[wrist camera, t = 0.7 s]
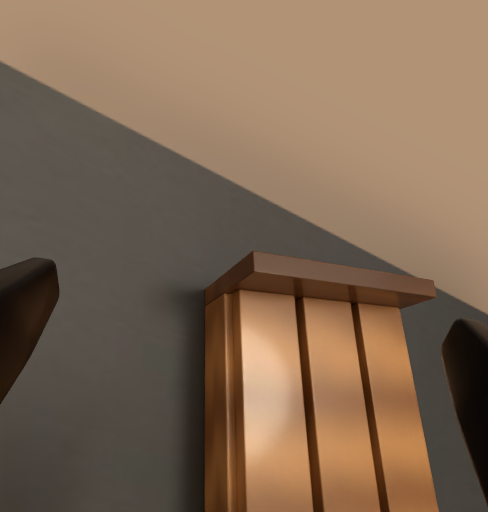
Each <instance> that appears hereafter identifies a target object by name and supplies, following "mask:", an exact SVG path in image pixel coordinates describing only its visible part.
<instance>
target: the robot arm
mask: <svg viewBox="0 0 488 512" xmlns="http://www.w3.org/2000/svg"><path fill="white" fill-rule="evenodd" d="M58 298H59V284H58V276H57V269H56V264H55V262H54V261H52V260H50V259H43V258H31V259H28V260H25V261H23V262H20V263H17V264H14V265H12V266H9V267H6V268H3V269H0V404H1V403H2V401H3V399H4V398H5V396H6V395H7V393H8V392H9V390H10V388H11V387H12V385H13V384H14V382H15V381H16V379H17V377H18V376H19V374H20V373H21V371H22V370H23V368H24V366H25V365H26V363H27V361H28V360H29V358H30V356H31V354H32V352H33V350H34V348H35V346H36V344H37V342H38V340H39V338H40V336H41V334H42V332H43V330H44V328H45V326H46V324H47V322H48V320H49V318H50V316H51V314H52V311H53V309H54V307H55V305H56V303H57V301H58ZM441 356H442V361H443V365H444V369H445V373H446V377H447V382H448V386H449V390H450V394H451V398H452V402H453V407H454V410H455V414H456V418H457V421H458V424H459V427H460V430H461V433H462V435H463V438H464V441H465V444H466V447H467V449H468V452H469V455H470V458H471V461H472V463H473V466H474V469H475V472H476V475H477V477H478V480H479V483H480V486H481V489H482V491H483V494H484V497H485V500H486V503H487V505H488V327H487V326H485V325H484V324H482V323H481V322H479V321H477V320H471V319H464V318H459V319H457V320H456V321H455V322H454V323H453V325H452V327H451V329H450V331H449V333H448V335H447V336H446V338H445V340H444V342H443V344H442V348H441Z"/></svg>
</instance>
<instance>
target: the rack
mask: <svg viewBox="0 0 488 512" xmlns="http://www.w3.org/2000/svg"><path fill="white" fill-rule="evenodd" d="M436 297H437V294H436V290H435V286H434V281H433V280H428V279H422V278H416V277H410V276H404V275H398V274H392V273H386V272H380V271H374V270H368V269H362V268H356V267H350V266H344V265H337V264H331V263H325V262H319V261H313V260H307V259H301V258H295V257H289V256H283V255H277V254H271V253H265V252H259V251H252V252H251V253H250V254H248V255H247V256H246V257H245V258H243V259H242V260H241V261H240V262H238V263H237V264H236V265H235V266H233V267H232V268H231V269H230V270H228V271H227V272H226V273H225V274H223V275H222V276H221V277H220V278H218V279H217V280H216V281H215V282H214V283H212V284H211V285H210V286H209V287H207V288H206V289H205V306H206V307H205V512H313V510H314V512H439V511H438V506H437V501H436V496H435V491H434V486H433V480H432V475H431V470H430V465H429V460H428V455H427V449H426V444H425V439H424V434H423V429H422V423H421V418H420V413H419V408H418V403H417V398H416V392H415V387H414V382H413V377H412V372H411V367H410V361H409V356H408V351H407V346H406V341H405V336H404V330H403V325H402V320H401V315H400V310H399V309H402V308H405V307H408V306H411V305H414V304H417V303H420V302H424V301H427V300H430V299H433V298H436ZM296 319H297V320H296ZM297 330H298V331H297ZM298 342H299V343H298ZM299 353H300V354H299ZM300 364H301V365H300ZM301 375H302V376H301ZM302 387H303V388H302ZM303 398H304V399H303ZM304 409H305V410H304ZM305 420H306V421H305ZM306 432H307V433H306ZM307 443H308V444H307ZM308 454H309V455H308ZM309 465H310V467H309ZM310 477H311V478H310ZM311 488H312V489H311ZM312 499H313V500H312Z"/></svg>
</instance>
